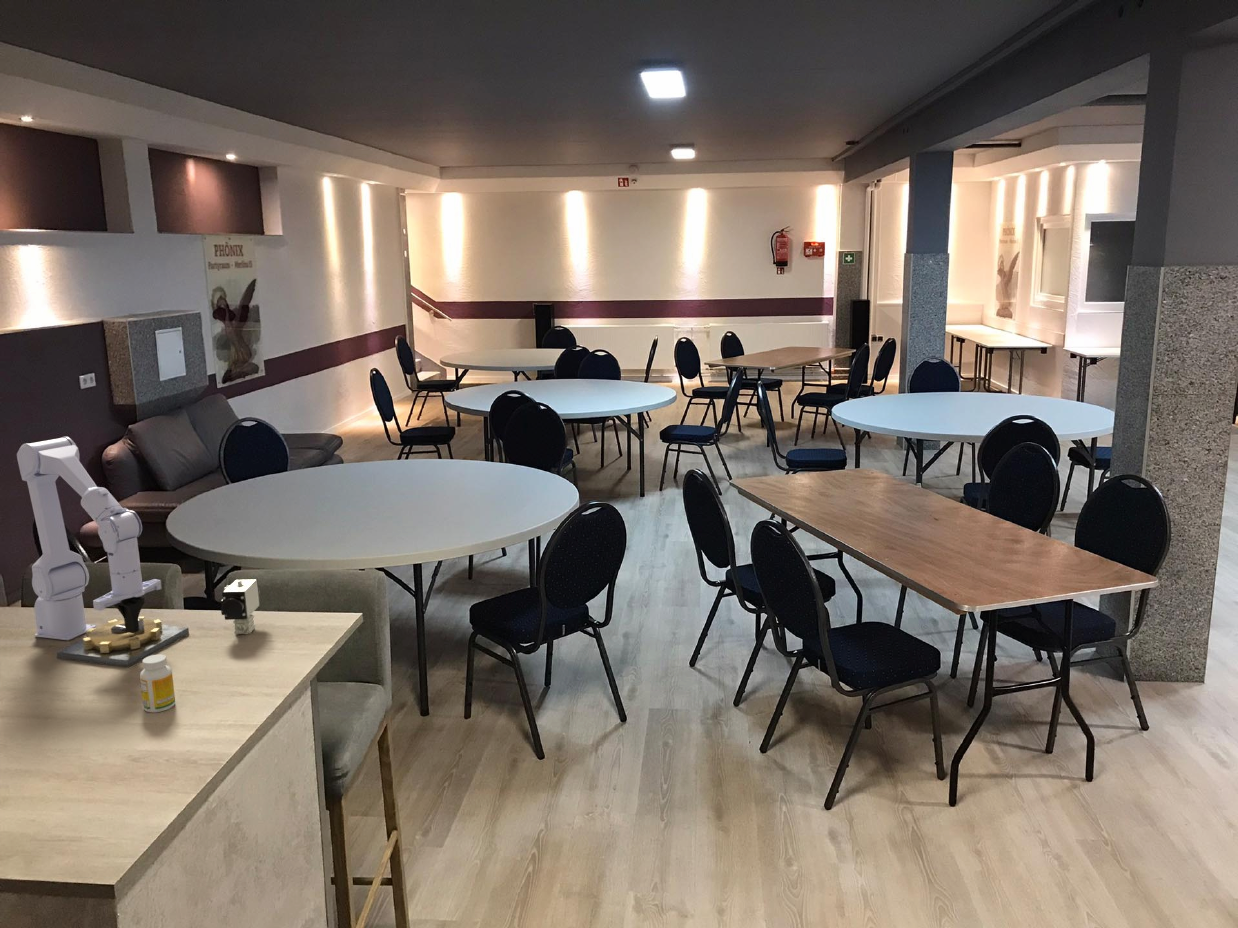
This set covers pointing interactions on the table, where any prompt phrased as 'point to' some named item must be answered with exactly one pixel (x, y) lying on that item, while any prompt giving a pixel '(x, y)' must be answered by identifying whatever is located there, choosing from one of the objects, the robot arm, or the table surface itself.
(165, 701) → the supplement bottle
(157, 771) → the table surface
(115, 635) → the blocky toothed spur gear
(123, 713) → the table surface
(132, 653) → the cap plate
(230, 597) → the pneumatic valve
